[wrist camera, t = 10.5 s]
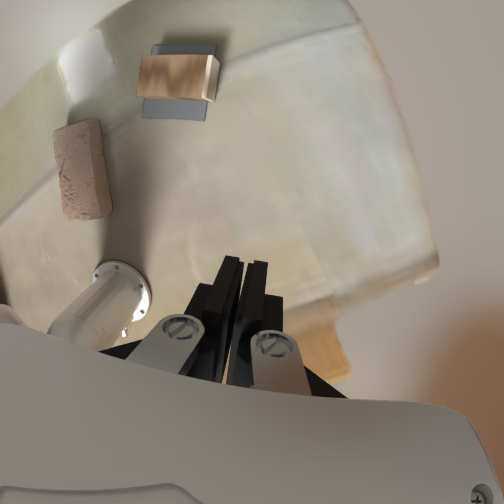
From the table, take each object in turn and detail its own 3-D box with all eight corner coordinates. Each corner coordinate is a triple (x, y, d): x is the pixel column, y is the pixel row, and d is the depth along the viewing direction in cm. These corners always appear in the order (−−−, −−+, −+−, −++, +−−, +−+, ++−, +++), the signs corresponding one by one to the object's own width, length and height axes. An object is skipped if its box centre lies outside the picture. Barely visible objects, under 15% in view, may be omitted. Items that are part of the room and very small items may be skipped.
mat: (204, 121, 40) (204, 120, 40) (142, 117, 40) (141, 117, 40) (216, 45, 35) (215, 45, 35) (153, 46, 36) (153, 45, 36)
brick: (65, 128, 42) (48, 130, 37) (101, 116, 41) (85, 116, 37) (79, 216, 48) (64, 224, 44) (115, 211, 47) (101, 219, 43)
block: (205, 97, 34) (136, 96, 34) (214, 101, 39) (150, 99, 39) (212, 55, 32) (142, 55, 32) (220, 63, 36) (156, 62, 37)
